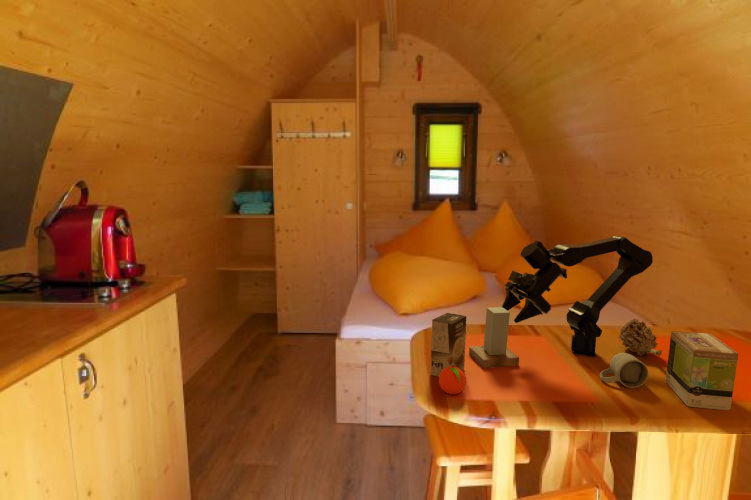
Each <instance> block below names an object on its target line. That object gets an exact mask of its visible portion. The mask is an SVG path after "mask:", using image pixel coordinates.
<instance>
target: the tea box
mask: <svg viewBox="0 0 751 500" xmlns="http://www.w3.org/2000/svg"><path fill="white" fill-rule="evenodd" d="M669 338H670V339H669V348H668V355H667V356H668V358H667V364H666V365H667V366H666V373H665V382H666V384H667V385H669V387H670V388H671V389H672V390H673V392H674V393H675V394H676V395H677V396H678V397H679V398H680V400H681V401H682V402H683V403H684V404H685V406H687V407H690V408H691V407H692V408H700V409H711V410H720V411H721V410H722V411H730V410H731V408H732V401H733V393H734V388H735V382H736V381H735V380H736V375H737V374H736V373H737V367H738V361H739V352H737V351H736V350H735V349H733V348H732V347H730V346H728V345H727V344H726V343H725V342H723V341H722V340H721V339H719V338H717V337H716V336H714V335H713V334H712V333H706V332H694V331H693V332H691V331H676V330H672V331H671V334H670V337H669Z"/></svg>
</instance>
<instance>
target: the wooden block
mask: <svg viewBox="0 0 751 500" xmlns="http://www.w3.org/2000/svg"><path fill="white" fill-rule="evenodd" d="M485 313H486V314H485V325H484V336H483V346H484V348H483V349H484V350H485V351H486V352H488V353H489V354H490V355H503V354H506V349H507V348H508V347H507V346H508V335H509V328H510V327H509V325H510V315H511V313H510V311H509V310H508V311H507V310H506V309H504V308H503V307H502V306H497V307H495V306H494V307H486V312H485Z"/></svg>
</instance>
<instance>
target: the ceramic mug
mask: <svg viewBox="0 0 751 500" xmlns="http://www.w3.org/2000/svg"><path fill="white" fill-rule="evenodd" d="M609 374H612V375H613V376H607V375H609ZM606 376H607V377H606ZM599 377H600V380H601V381H602V382H603V383H607V384H611V383H616V382H619V383H620V384H622V385H623V386H624V387H626V388H629V389H630V388H631V389H636V388H640V387H641V386H643V385H644V384H646V382H647V380H648V378H649V369H648V367H647V365H646V363H644V362H643V361H641V360H640V359H639V358H637V357H635V356H634V355H632V354H631V353H627V352H619V353H616V354H615V355H613V356H612V357H611V359H610V361H609V367H608V368H606V369H603V370H601V372H600V373H599Z"/></svg>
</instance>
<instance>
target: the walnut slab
mask: <svg viewBox="0 0 751 500" xmlns="http://www.w3.org/2000/svg"><path fill="white" fill-rule="evenodd" d="M468 347H469V351H468V355H469V356H470V357H471V358H473V360H474V361H475V362H477V364H479V366H480V367H481V368H482V369H492V368H493V369H494V368H503V367H504V368H505V367H516V366H519V365H520V357H519V356H518V355H517V354H516V353H514V352H513V351H512V350H511V349H509V348H508V347H507V349H506V354H503V355H490V354H489V353H488V352H486V351H485V350H484V349H483V348H484V345H477V346H476V345H474V346H472V345H471V346H468Z"/></svg>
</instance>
